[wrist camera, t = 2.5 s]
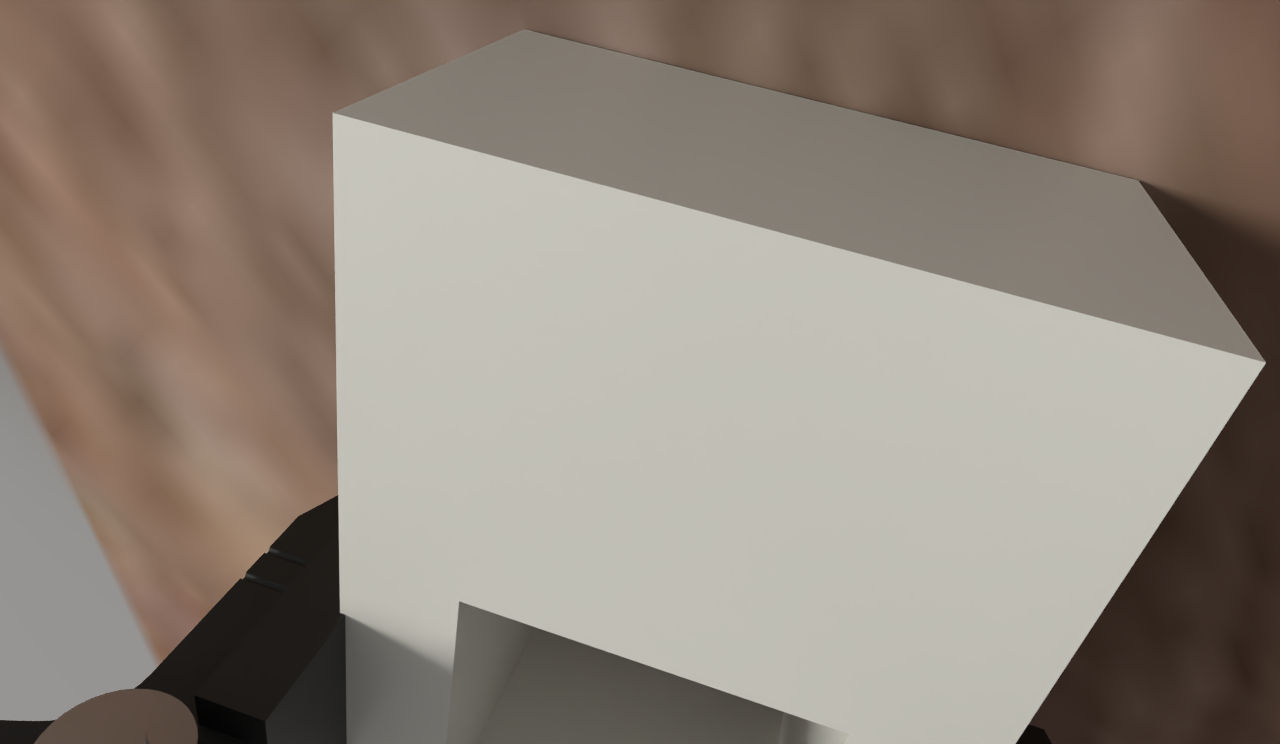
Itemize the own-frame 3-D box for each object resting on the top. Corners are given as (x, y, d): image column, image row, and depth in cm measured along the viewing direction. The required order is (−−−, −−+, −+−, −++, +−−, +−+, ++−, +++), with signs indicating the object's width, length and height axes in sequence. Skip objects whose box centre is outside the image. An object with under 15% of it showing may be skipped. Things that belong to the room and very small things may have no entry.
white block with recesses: (525, 28, 9) (332, 112, 6) (1138, 181, 8) (1267, 363, 5) (453, 749, 15) (345, 961, 12) (792, 873, 14) (761, 1129, 12)
